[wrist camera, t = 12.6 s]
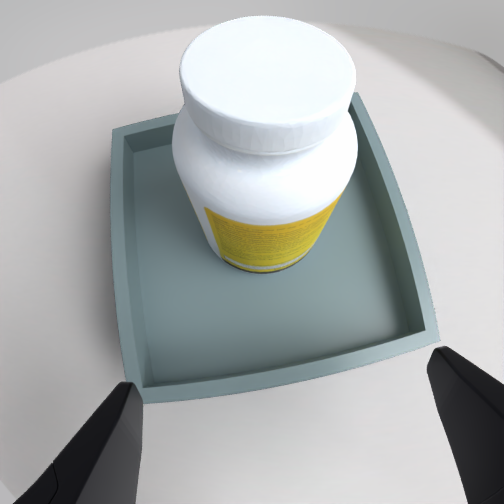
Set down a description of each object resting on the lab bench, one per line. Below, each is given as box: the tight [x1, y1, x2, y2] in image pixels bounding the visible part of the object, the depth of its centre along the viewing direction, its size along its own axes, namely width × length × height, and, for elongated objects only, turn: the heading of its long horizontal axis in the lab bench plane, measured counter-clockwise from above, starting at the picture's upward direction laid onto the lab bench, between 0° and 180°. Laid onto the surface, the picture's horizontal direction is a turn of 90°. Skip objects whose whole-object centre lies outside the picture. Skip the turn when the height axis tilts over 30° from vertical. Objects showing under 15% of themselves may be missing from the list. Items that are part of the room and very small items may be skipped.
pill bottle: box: [172, 16, 358, 274], centre depth 13 cm, size 6×6×12 cm
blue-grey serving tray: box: [110, 92, 440, 404], centre depth 19 cm, size 16×16×5 cm
